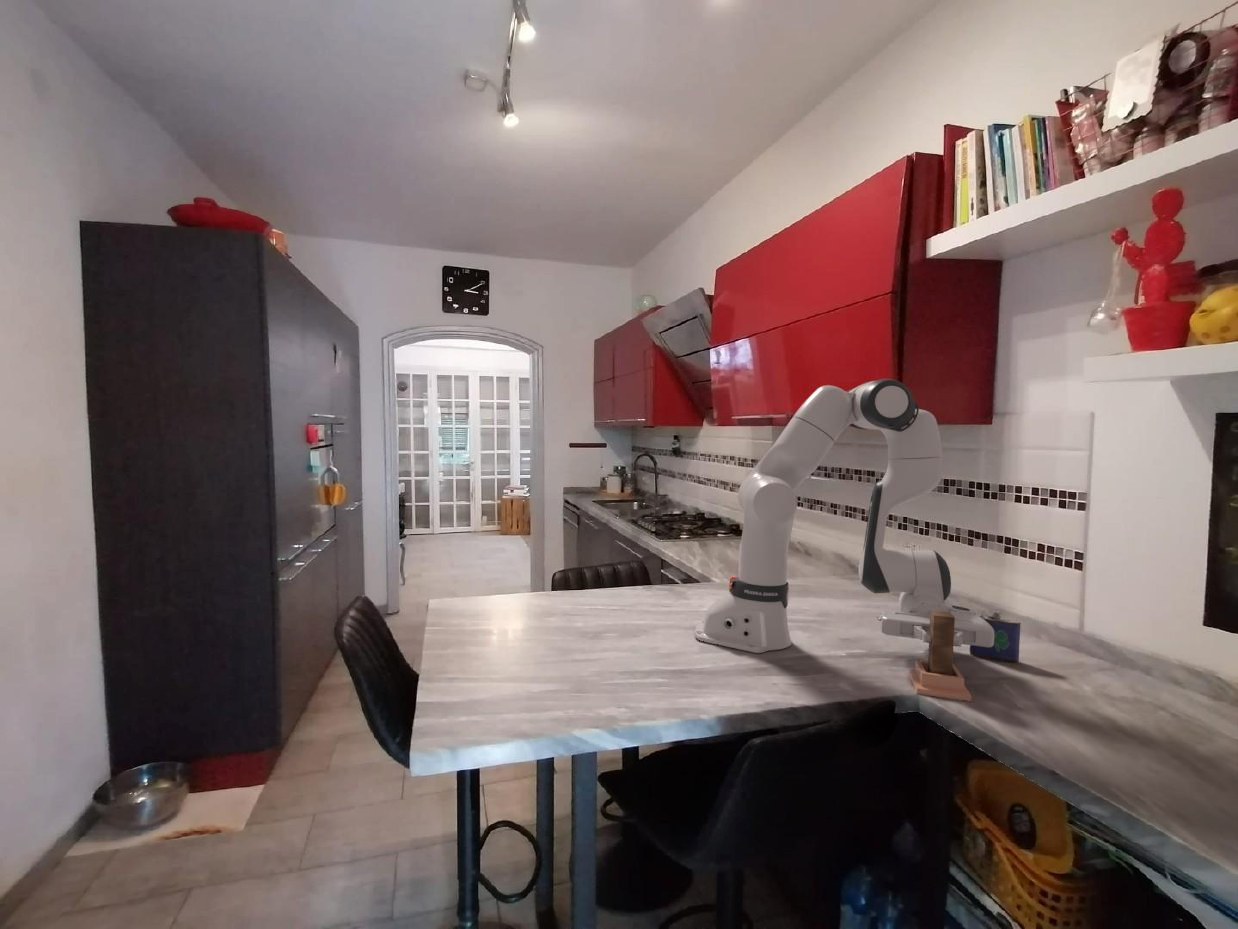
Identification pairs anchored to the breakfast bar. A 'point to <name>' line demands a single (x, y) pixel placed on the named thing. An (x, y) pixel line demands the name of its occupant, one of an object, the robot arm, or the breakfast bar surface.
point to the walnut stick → (941, 643)
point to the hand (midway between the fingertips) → (942, 640)
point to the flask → (1000, 640)
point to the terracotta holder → (938, 682)
